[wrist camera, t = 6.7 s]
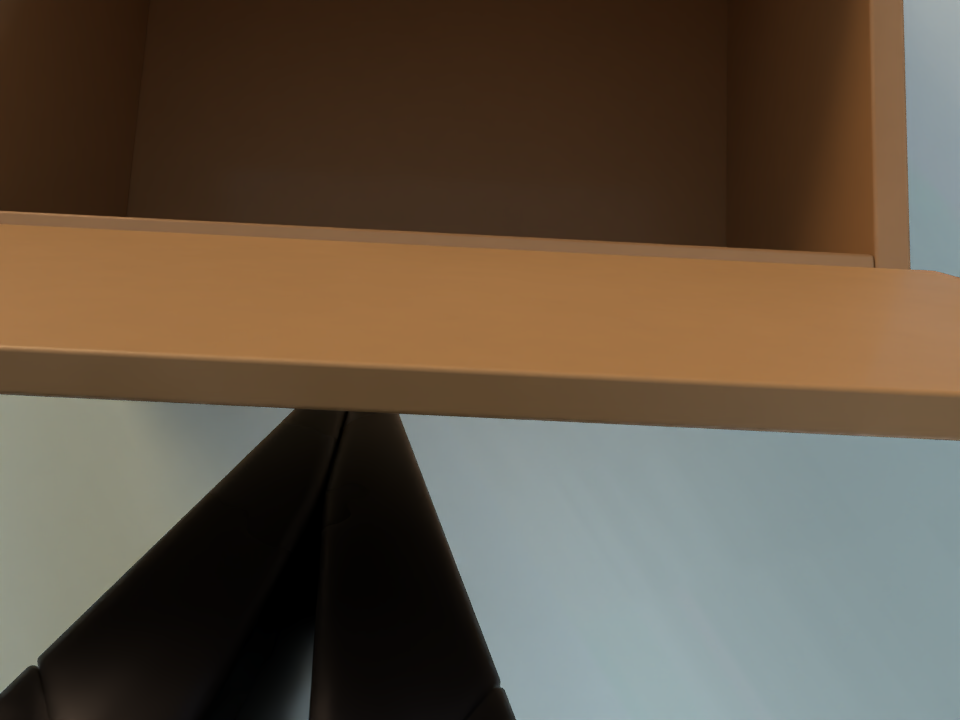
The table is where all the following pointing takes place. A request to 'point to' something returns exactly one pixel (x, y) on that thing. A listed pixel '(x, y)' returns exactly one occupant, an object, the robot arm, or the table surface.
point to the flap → (478, 332)
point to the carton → (467, 123)
